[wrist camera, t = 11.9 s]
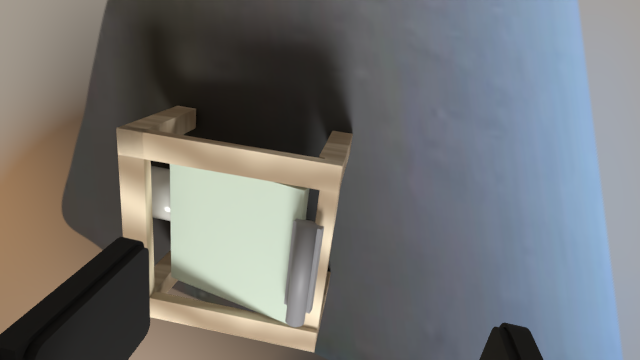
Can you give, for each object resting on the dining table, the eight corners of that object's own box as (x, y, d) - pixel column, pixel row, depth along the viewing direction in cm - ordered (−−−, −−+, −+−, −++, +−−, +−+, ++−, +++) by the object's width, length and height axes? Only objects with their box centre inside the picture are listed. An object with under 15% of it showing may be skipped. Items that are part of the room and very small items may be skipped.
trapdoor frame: (177, 105, 41) (116, 128, 32) (352, 133, 39) (342, 166, 30) (178, 257, 47) (127, 312, 38) (328, 286, 46) (313, 352, 36)
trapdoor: (177, 150, 36) (150, 159, 33) (333, 193, 31) (317, 208, 28) (178, 272, 41) (154, 288, 38) (313, 325, 36) (298, 349, 33)
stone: (202, 167, 43) (158, 158, 43) (179, 187, 38) (130, 177, 38) (202, 209, 45) (159, 201, 45) (180, 233, 40) (133, 223, 41)
